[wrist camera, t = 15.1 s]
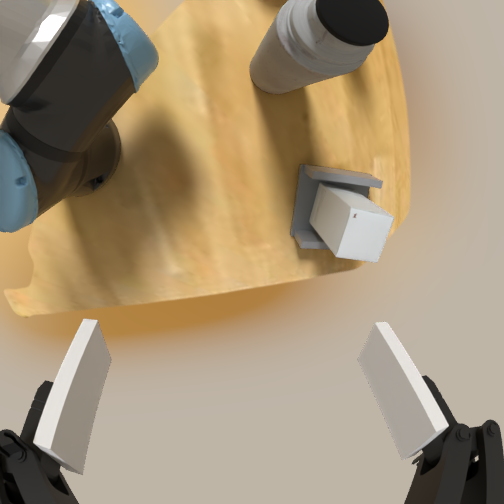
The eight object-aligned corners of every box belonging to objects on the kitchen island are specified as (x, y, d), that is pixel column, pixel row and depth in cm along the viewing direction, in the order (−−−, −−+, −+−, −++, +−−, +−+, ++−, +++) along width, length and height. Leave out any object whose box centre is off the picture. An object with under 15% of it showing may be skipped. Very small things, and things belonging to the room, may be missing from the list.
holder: (290, 233, 48) (297, 248, 43) (300, 163, 43) (310, 170, 38) (355, 237, 50) (368, 250, 45) (369, 173, 44) (385, 181, 39)
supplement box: (307, 222, 46) (333, 258, 35) (319, 180, 43) (351, 205, 32) (344, 229, 48) (377, 264, 37) (357, 190, 45) (396, 216, 33)
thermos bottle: (279, 39, 33) (358, -46, 8) (310, 77, 36) (428, 42, 11) (238, 65, 34) (265, -14, 10) (271, 104, 38) (350, 87, 13)
